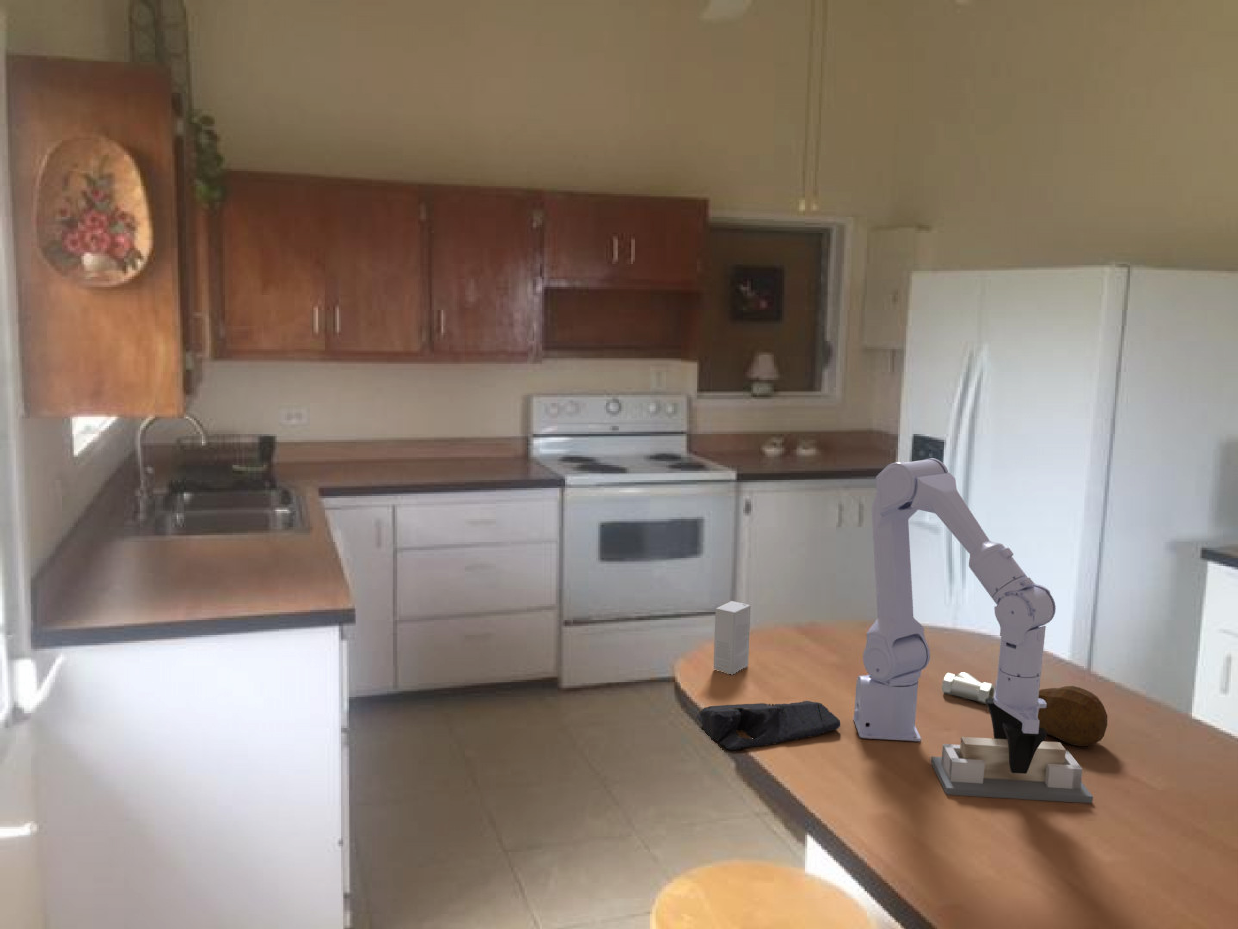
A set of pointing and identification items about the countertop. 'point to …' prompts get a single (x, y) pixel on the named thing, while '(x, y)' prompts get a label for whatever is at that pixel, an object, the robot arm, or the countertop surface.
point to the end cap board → (970, 782)
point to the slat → (998, 758)
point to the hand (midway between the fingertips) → (1010, 760)
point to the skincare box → (731, 637)
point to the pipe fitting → (967, 687)
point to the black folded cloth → (766, 723)
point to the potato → (1073, 715)
